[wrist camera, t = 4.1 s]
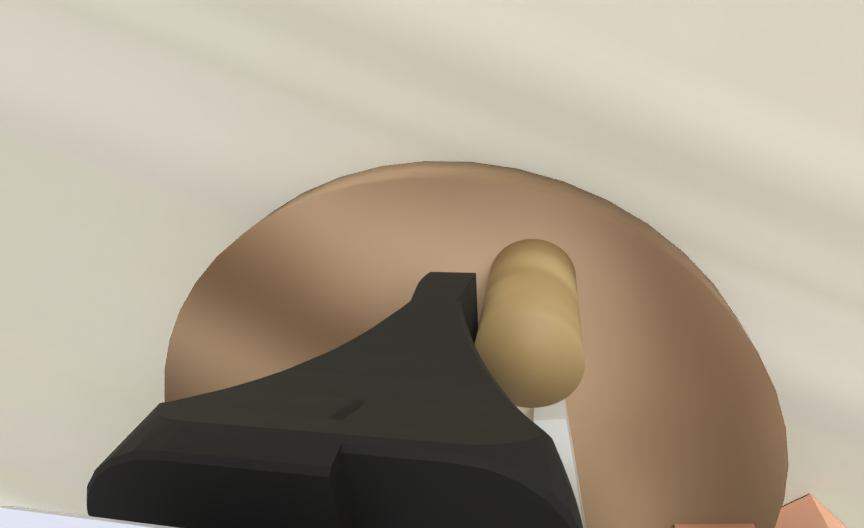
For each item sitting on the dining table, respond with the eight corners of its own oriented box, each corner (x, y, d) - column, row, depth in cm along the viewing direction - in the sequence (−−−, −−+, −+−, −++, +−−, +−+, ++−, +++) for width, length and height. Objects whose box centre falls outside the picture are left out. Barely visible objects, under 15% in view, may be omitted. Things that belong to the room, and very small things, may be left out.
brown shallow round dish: (438, 667, 23) (412, 829, 19) (102, 380, 20) (-32, 493, 15) (893, 507, 16) (1035, 712, 11) (481, -4, 12) (441, -9, 8)
